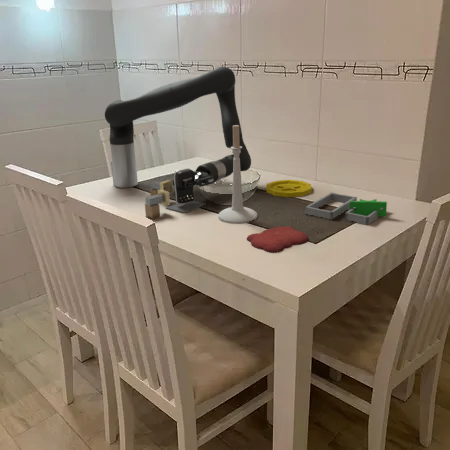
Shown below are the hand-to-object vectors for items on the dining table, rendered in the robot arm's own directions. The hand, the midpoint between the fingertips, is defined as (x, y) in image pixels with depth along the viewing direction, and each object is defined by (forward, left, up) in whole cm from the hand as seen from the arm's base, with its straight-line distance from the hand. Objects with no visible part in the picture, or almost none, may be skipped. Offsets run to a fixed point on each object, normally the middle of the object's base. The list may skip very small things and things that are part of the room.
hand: (179, 184), depth 162 cm
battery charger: (0, +3, -7) cm, 8 cm away
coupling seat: (0, +3, -9) cm, 9 cm away
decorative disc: (+20, +39, -9) cm, 44 cm away
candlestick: (+21, +5, -9) cm, 23 cm away
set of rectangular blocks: (-7, -4, -9) cm, 12 cm away
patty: (+42, -4, -9) cm, 43 cm away
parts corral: (+49, +28, -9) cm, 57 cm away
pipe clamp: (+55, +28, -9) cm, 63 cm away
